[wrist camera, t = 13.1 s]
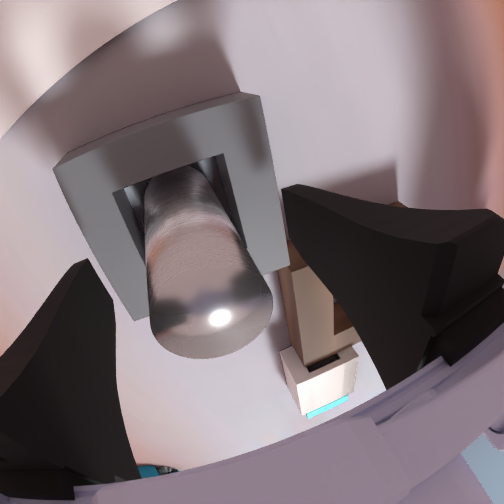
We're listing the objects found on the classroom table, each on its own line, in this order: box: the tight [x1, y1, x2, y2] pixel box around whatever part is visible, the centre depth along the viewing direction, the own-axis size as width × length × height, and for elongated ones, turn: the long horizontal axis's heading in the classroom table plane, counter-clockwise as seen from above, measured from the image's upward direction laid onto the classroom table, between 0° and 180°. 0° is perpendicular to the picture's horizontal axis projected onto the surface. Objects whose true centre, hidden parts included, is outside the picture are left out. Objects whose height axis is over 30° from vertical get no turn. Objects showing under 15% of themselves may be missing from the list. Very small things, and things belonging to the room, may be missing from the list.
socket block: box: [278, 201, 408, 367], centre depth 20 cm, size 9×9×2 cm
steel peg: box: [144, 166, 273, 359], centre depth 11 cm, size 3×3×8 cm
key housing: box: [280, 346, 359, 415], centre depth 24 cm, size 5×6×3 cm
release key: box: [306, 355, 348, 419], centre depth 24 cm, size 4×7×3 cm, turn 11°
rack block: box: [53, 92, 290, 321], centre depth 13 cm, size 8×8×2 cm
